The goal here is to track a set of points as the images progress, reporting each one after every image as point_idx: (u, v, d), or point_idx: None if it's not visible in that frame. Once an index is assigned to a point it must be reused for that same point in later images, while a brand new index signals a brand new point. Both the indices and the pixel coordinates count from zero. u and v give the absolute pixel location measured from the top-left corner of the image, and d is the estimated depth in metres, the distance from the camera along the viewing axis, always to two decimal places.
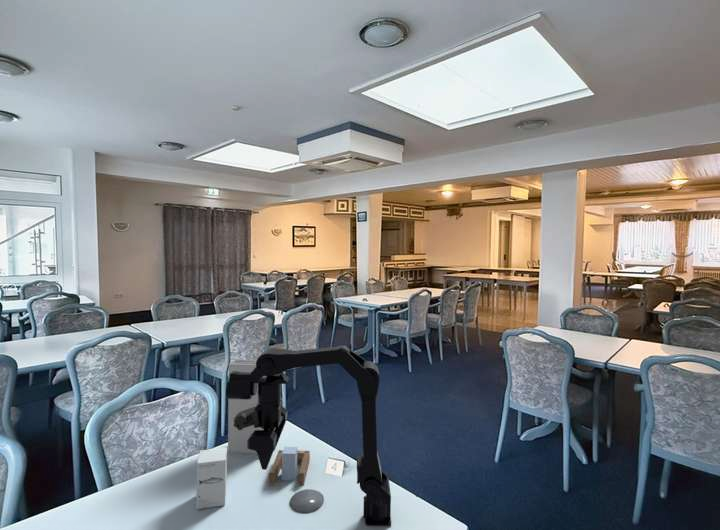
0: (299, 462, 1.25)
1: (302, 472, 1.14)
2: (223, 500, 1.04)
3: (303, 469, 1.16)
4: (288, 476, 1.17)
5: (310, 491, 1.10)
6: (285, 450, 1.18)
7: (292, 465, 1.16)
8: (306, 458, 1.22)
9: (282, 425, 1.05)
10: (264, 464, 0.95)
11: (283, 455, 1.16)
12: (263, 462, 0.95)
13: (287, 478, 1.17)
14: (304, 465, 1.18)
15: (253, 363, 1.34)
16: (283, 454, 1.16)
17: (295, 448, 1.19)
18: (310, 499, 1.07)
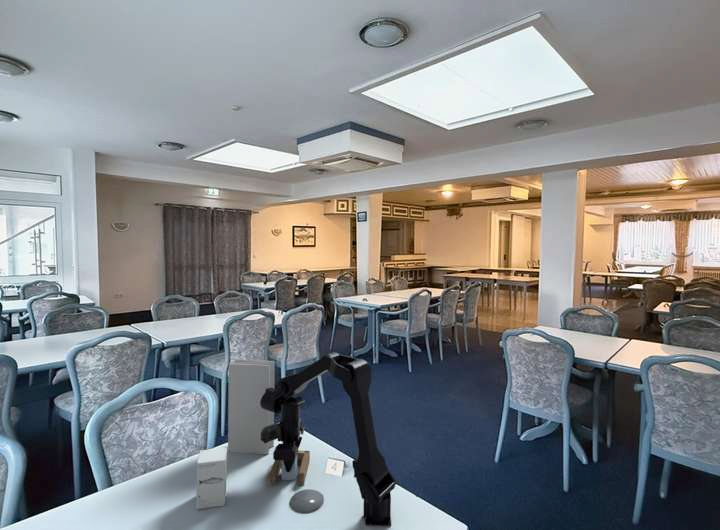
0: (299, 462, 1.25)
1: (302, 472, 1.14)
2: (223, 500, 1.04)
3: (303, 469, 1.16)
4: (288, 476, 1.17)
5: (310, 491, 1.10)
6: None
7: None
8: (306, 458, 1.22)
9: (299, 442, 1.21)
10: (288, 467, 1.16)
11: None
12: (287, 466, 1.15)
13: (287, 478, 1.17)
14: (304, 465, 1.18)
15: (253, 363, 1.34)
16: None
17: None
18: (310, 499, 1.07)
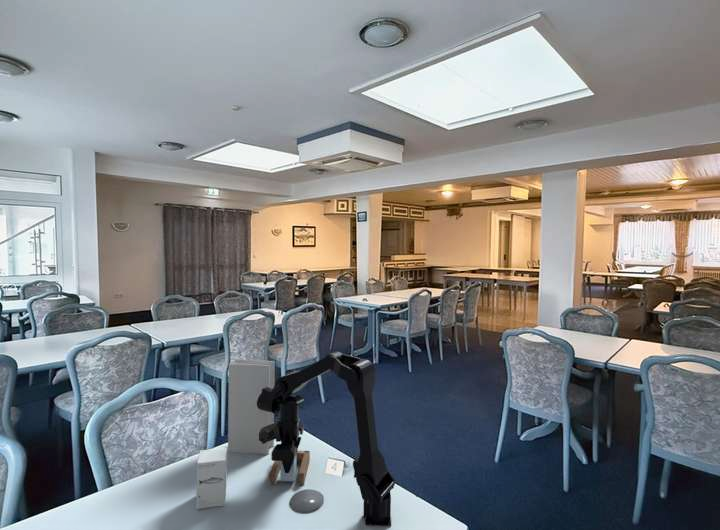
0: (299, 462, 1.25)
1: (302, 472, 1.14)
2: (223, 500, 1.04)
3: (303, 469, 1.16)
4: (287, 477, 1.14)
5: (310, 491, 1.10)
6: None
7: None
8: (306, 458, 1.22)
9: (298, 442, 1.18)
10: (287, 468, 1.13)
11: None
12: (286, 467, 1.12)
13: (286, 479, 1.14)
14: (304, 465, 1.18)
15: (253, 363, 1.34)
16: None
17: None
18: (310, 499, 1.07)
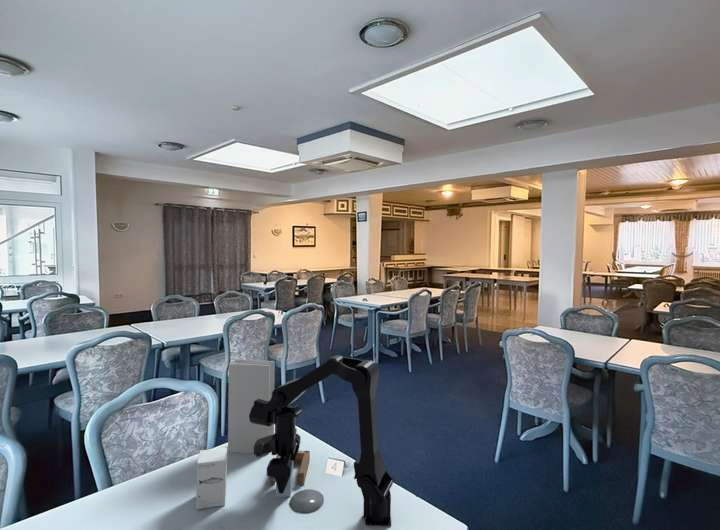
0: (299, 462, 1.25)
1: (302, 472, 1.14)
2: (223, 500, 1.04)
3: (303, 469, 1.16)
4: None
5: (310, 491, 1.10)
6: None
7: None
8: (306, 458, 1.22)
9: (296, 451, 1.15)
10: (281, 488, 1.05)
11: None
12: (280, 487, 1.05)
13: (282, 495, 1.08)
14: (304, 465, 1.18)
15: (253, 363, 1.34)
16: None
17: None
18: (310, 499, 1.07)
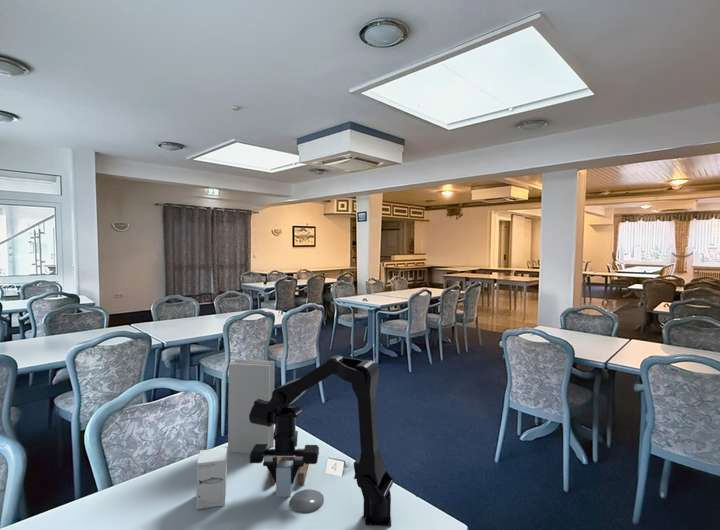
0: None
1: (302, 472, 1.14)
2: (223, 500, 1.04)
3: (303, 469, 1.16)
4: (283, 492, 1.08)
5: (310, 491, 1.10)
6: (279, 464, 1.10)
7: (287, 481, 1.08)
8: None
9: None
10: None
11: (278, 470, 1.08)
12: None
13: (282, 495, 1.08)
14: (304, 465, 1.18)
15: (253, 363, 1.34)
16: (278, 469, 1.08)
17: (291, 462, 1.11)
18: (310, 499, 1.07)
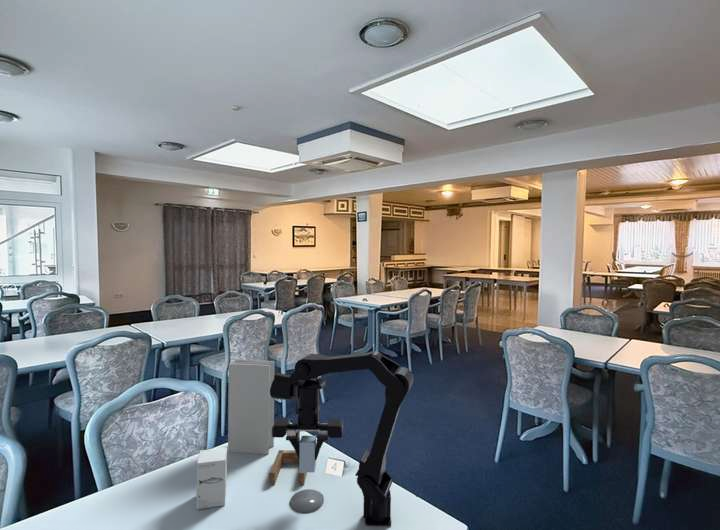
0: None
1: (302, 472, 1.14)
2: (223, 500, 1.04)
3: None
4: (307, 468, 1.04)
5: (310, 491, 1.10)
6: (302, 439, 1.06)
7: (311, 456, 1.04)
8: None
9: None
10: None
11: (301, 444, 1.04)
12: None
13: (306, 470, 1.04)
14: None
15: (253, 363, 1.34)
16: (301, 443, 1.04)
17: (314, 437, 1.07)
18: (310, 499, 1.07)
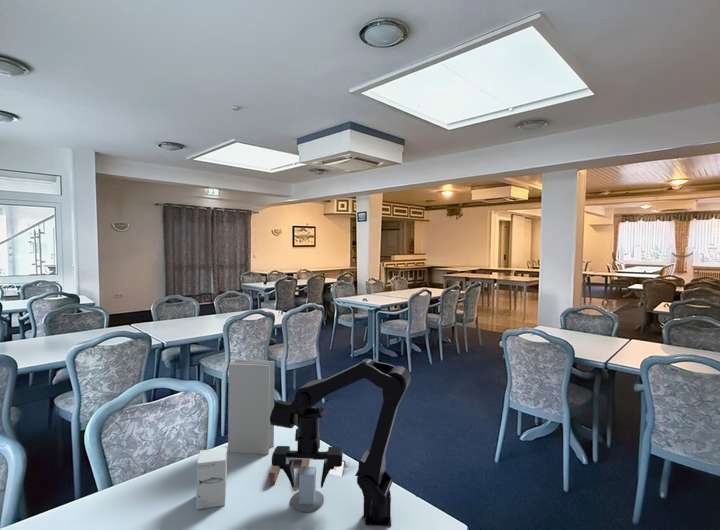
0: (299, 462, 1.25)
1: None
2: (223, 500, 1.04)
3: None
4: (306, 500, 1.04)
5: None
6: (302, 470, 1.06)
7: (310, 488, 1.04)
8: None
9: (323, 468, 1.04)
10: None
11: (301, 476, 1.04)
12: None
13: (305, 502, 1.04)
14: (304, 465, 1.18)
15: (253, 363, 1.34)
16: (301, 475, 1.04)
17: (314, 468, 1.07)
18: None
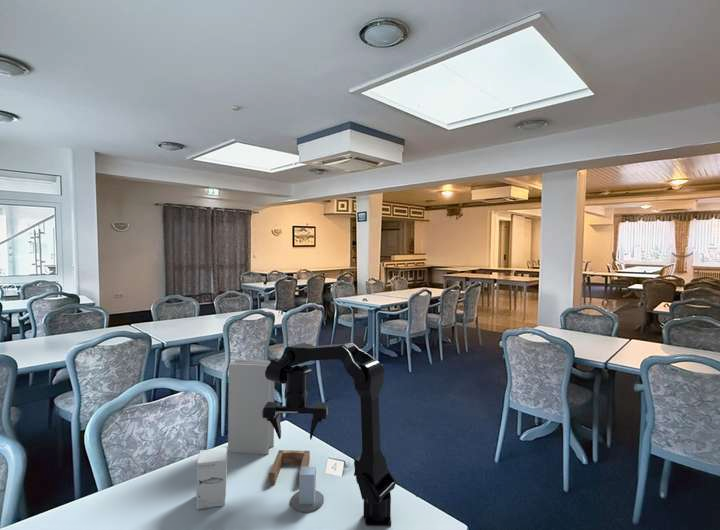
0: (299, 462, 1.25)
1: None
2: (223, 500, 1.04)
3: None
4: (306, 500, 1.04)
5: None
6: (302, 470, 1.06)
7: (310, 488, 1.04)
8: (306, 458, 1.22)
9: None
10: None
11: (301, 476, 1.04)
12: None
13: (305, 502, 1.04)
14: (304, 465, 1.18)
15: (253, 363, 1.34)
16: (301, 475, 1.04)
17: (314, 468, 1.07)
18: None
